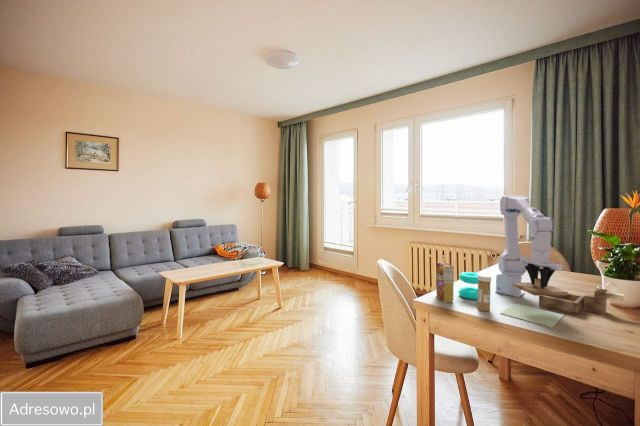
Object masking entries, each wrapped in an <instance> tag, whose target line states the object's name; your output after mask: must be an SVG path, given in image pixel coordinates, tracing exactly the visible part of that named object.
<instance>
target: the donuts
mask: <svg viewBox="0 0 640 426" xmlns="http://www.w3.org/2000/svg"><path fill="white" fill-rule="evenodd" d="M479 274H480V273H478V272H473V271H471V272H470V271H464V272H461V273H459V275H458V277H459V280H460V281H462V282H463V283H465V284H469V285H478V275H479ZM458 295H459V296H460V297H462V298H464V299H468V300H472V301H473V300H477V301H478V287H473V286H463V287H461V288H459V290H458Z"/></svg>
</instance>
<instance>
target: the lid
mask: <svg viewBox="0 0 640 426" xmlns="http://www.w3.org/2000/svg"><path fill="white" fill-rule="evenodd" d="M513 286H514V287H517V288H519V289H521V291H522V292H526V293H527V294H528V293H529V294H530V295H533V296H535V297H536V296H538V297H539V295H568V293H569V292H568V291H567V290H564V289H561V288H558V287H556V286H553V285H550V284H549V283H548V284H547V287H544V288H542V287H541V277H538V278H534V285H532V283H531V282H521V283H513Z"/></svg>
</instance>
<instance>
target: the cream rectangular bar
mask: <svg viewBox="0 0 640 426" xmlns="http://www.w3.org/2000/svg"><path fill="white" fill-rule="evenodd" d="M595 290H596V289H594V290H593V295H594V296H595ZM605 292H606V291H605ZM606 298H607V300H609V299H610V300H614V301H620V302H624V301H625V294H623V293H617V292H613V291H607V292H606Z"/></svg>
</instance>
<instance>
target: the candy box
mask: <svg viewBox="0 0 640 426" xmlns="http://www.w3.org/2000/svg"><path fill="white" fill-rule="evenodd" d="M454 273H455V272H454V266H453V265H451V264H449V263H447V262H446V261H436V296H437V298H439V299H440V300H441V299H442V300H443V301H444V302H452V301H453V302H454V278H455V277H454V275H455V274H454ZM442 300H441V301H442ZM443 301H442V302H443ZM444 302H443V303H444ZM453 302H452V303H453Z"/></svg>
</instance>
